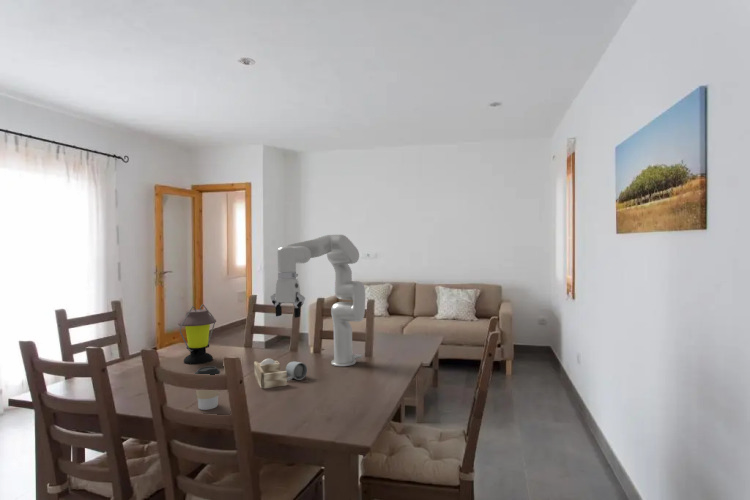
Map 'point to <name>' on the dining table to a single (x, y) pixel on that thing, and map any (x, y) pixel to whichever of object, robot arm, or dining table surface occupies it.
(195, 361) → the lantern
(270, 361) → the white plate
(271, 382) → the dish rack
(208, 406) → the coffee cup
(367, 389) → the dining table surface
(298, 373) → the ceramic mug
